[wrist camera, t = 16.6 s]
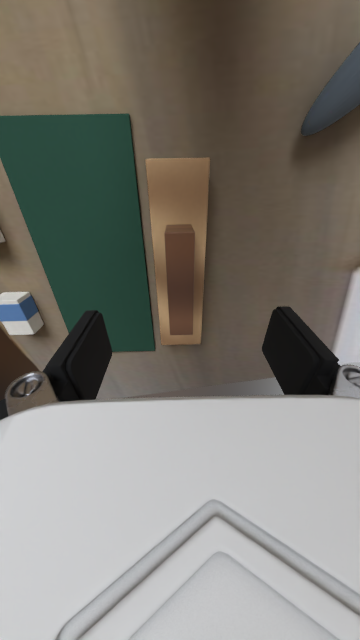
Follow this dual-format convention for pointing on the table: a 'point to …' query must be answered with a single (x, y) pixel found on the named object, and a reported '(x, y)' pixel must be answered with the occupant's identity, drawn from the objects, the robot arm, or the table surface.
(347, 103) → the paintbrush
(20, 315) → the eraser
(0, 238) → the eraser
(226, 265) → the table surface
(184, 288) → the scrub brush
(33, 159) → the desk mat
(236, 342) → the table surface
